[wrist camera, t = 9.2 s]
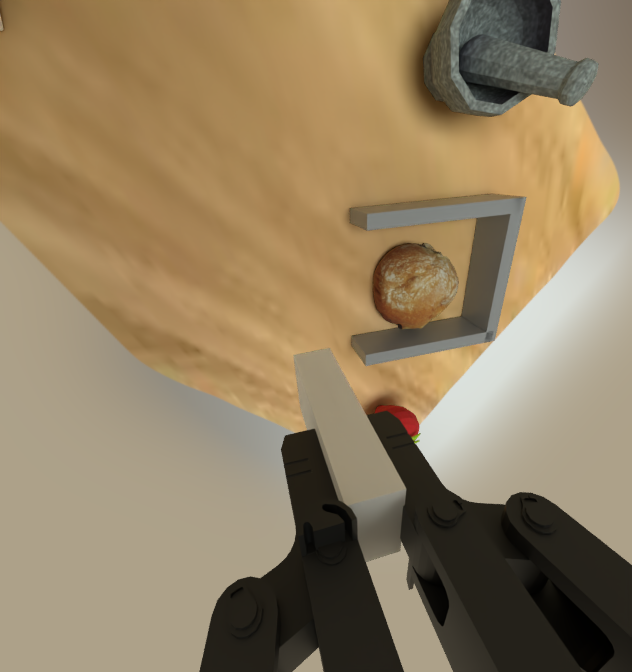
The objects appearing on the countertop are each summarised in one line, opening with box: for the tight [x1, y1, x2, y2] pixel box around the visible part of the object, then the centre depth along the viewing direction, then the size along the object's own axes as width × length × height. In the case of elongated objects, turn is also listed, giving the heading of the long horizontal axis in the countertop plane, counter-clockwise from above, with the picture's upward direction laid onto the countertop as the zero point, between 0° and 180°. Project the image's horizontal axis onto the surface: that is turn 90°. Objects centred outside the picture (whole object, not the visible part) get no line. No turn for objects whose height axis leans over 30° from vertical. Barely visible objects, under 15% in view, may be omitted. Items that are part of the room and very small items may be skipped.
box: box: [350, 194, 526, 366], centre depth 38 cm, size 17×18×5 cm
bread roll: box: [373, 243, 459, 330], centre depth 39 cm, size 10×10×8 cm
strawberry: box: [375, 405, 420, 443], centre depth 45 cm, size 6×8×10 cm
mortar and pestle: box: [423, 0, 598, 117], centre depth 26 cm, size 11×9×12 cm
